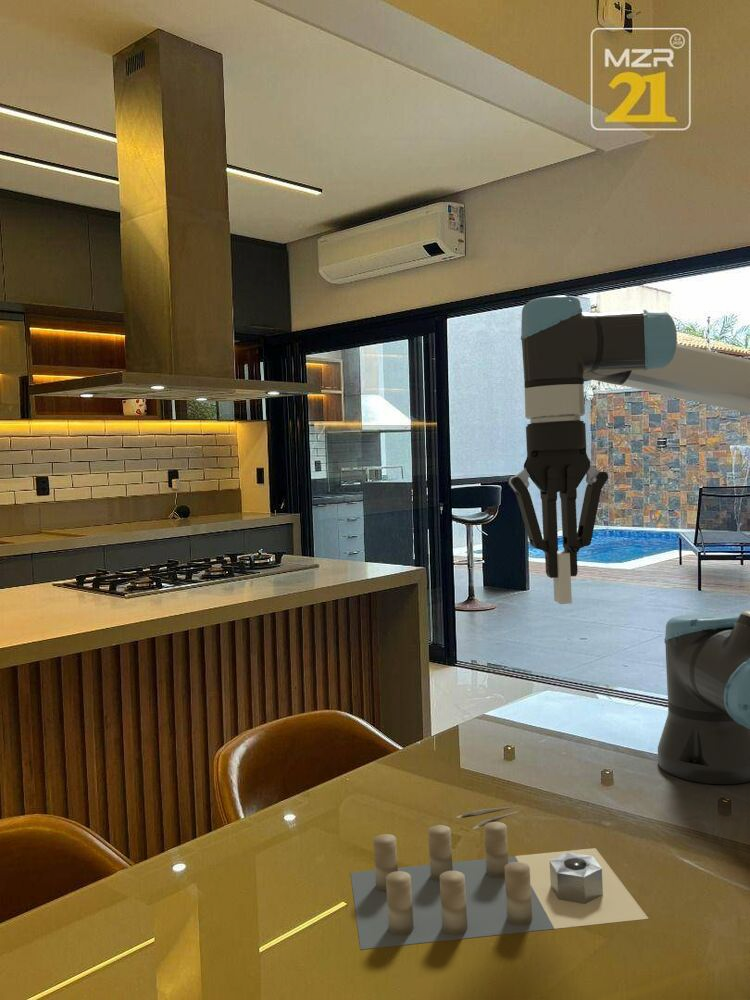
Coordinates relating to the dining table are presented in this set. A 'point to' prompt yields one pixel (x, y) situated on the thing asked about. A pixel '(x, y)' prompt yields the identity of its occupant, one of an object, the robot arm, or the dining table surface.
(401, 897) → the pegs
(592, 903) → the mat
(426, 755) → the dining table surface
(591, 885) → the nut
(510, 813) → the metal tweezers
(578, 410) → the robot arm
